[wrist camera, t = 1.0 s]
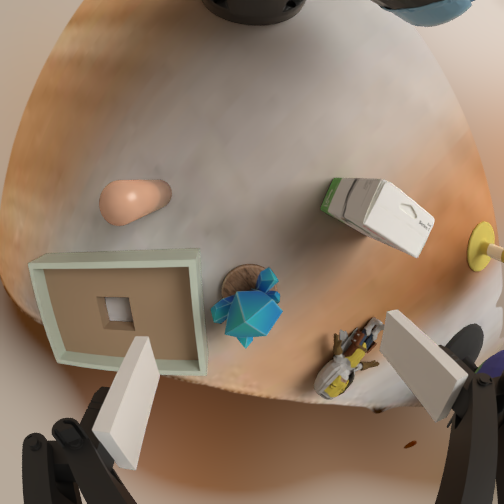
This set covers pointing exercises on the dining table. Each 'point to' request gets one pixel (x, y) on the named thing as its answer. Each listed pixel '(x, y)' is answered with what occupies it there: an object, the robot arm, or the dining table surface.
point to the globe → (475, 351)
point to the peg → (132, 199)
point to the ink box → (379, 212)
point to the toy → (347, 360)
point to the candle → (483, 247)
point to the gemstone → (248, 303)
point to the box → (141, 302)
